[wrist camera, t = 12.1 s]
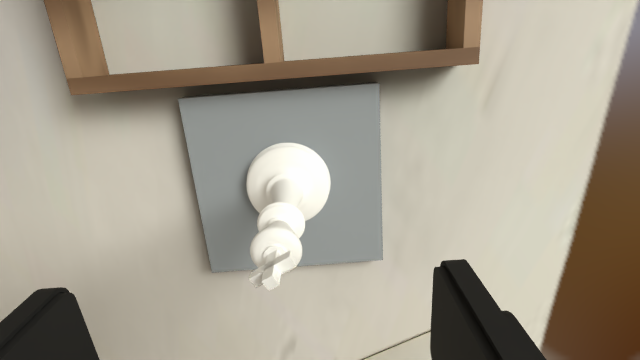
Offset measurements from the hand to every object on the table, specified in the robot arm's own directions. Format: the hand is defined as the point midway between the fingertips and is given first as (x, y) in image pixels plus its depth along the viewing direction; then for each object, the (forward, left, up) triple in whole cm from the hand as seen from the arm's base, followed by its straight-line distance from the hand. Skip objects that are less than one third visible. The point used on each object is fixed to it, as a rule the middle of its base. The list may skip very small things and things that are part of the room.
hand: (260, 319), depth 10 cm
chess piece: (+1, 0, -13) cm, 13 cm away
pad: (+1, 0, -14) cm, 13 cm away
